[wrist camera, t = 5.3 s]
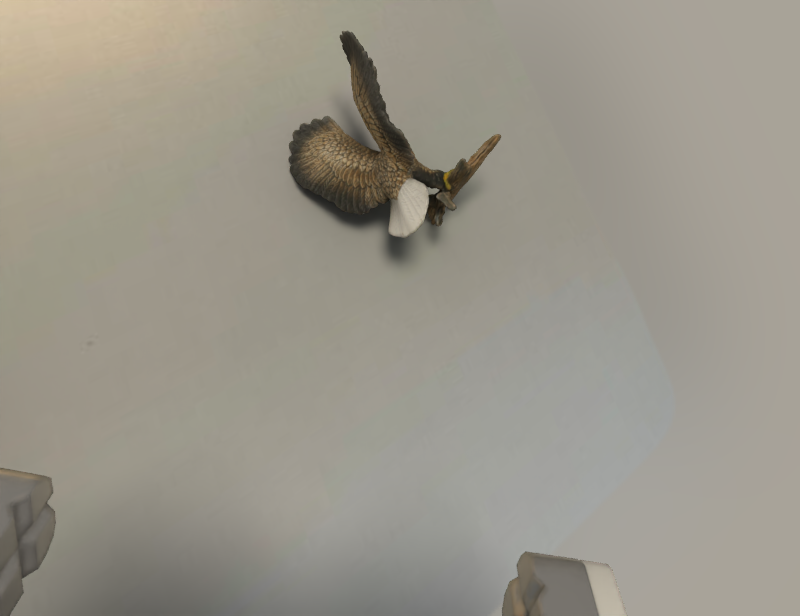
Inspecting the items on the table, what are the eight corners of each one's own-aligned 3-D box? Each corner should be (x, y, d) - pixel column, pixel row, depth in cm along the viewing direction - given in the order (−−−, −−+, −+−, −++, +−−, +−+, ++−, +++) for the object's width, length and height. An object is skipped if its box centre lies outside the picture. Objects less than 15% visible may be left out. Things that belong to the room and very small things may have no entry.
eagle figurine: (494, 132, 34) (352, 28, 33) (511, 141, 27) (332, 10, 26) (412, 248, 36) (275, 155, 35) (409, 283, 29) (239, 169, 28)
